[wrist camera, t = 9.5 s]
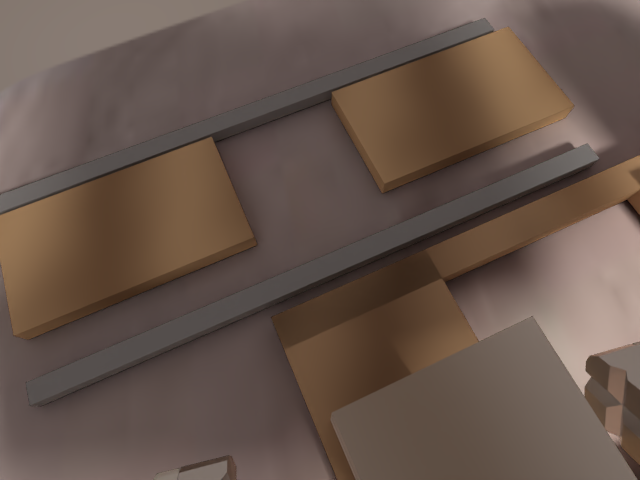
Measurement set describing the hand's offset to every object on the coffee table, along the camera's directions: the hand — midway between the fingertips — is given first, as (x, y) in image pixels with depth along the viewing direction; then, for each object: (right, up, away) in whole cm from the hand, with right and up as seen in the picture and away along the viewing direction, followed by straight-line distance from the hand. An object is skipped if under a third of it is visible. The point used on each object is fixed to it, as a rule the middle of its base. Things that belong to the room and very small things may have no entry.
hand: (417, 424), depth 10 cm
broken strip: (-3, +7, +9) cm, 12 cm away
